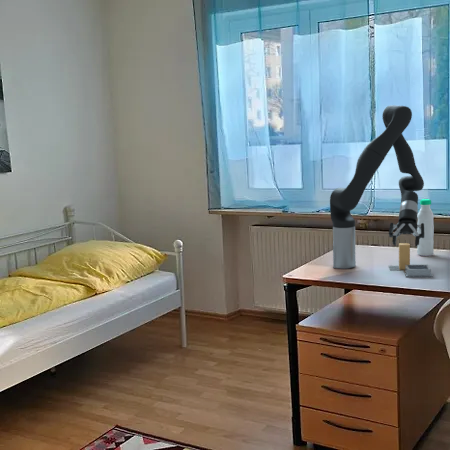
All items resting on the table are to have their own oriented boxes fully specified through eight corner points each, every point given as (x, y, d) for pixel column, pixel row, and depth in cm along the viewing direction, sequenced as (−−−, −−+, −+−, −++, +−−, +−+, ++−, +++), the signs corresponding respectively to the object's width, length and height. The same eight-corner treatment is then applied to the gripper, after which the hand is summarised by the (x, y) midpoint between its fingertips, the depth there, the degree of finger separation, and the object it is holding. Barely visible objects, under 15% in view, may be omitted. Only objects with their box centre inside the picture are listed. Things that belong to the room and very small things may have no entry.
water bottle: (434, 256, 285) (434, 200, 282) (417, 256, 287) (418, 200, 283) (432, 253, 292) (433, 198, 289) (416, 253, 294) (416, 198, 290)
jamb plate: (390, 271, 260) (390, 270, 260) (388, 266, 269) (388, 265, 269) (420, 271, 258) (420, 270, 258) (418, 266, 267) (418, 265, 267)
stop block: (399, 269, 262) (399, 245, 260) (398, 267, 266) (398, 243, 264) (409, 269, 261) (409, 244, 260) (408, 267, 265) (408, 243, 263)
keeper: (405, 278, 248) (405, 269, 248) (403, 272, 258) (403, 264, 257) (432, 278, 246) (432, 269, 246) (429, 272, 256) (429, 264, 256)
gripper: (390, 208, 274) (386, 239, 266) (425, 208, 269) (422, 240, 260) (392, 218, 280) (388, 249, 271) (426, 218, 275) (424, 250, 266)
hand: (405, 244), depth 266 cm, fingers open, 8 cm apart
